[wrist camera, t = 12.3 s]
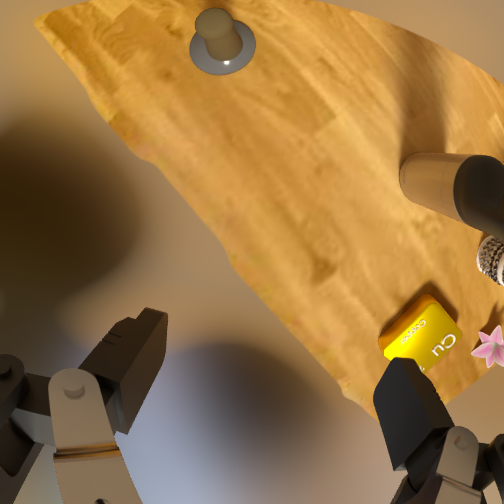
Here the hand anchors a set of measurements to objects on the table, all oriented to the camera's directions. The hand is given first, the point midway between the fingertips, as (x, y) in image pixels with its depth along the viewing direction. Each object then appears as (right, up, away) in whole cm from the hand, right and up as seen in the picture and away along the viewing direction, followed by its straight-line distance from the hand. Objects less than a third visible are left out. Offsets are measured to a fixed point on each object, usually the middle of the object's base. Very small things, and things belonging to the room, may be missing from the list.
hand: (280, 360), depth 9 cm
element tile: (+34, -14, +45) cm, 58 cm away
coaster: (-6, +38, +31) cm, 49 cm away
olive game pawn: (-5, +37, +30) cm, 48 cm away
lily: (+57, -17, +44) cm, 74 cm away
